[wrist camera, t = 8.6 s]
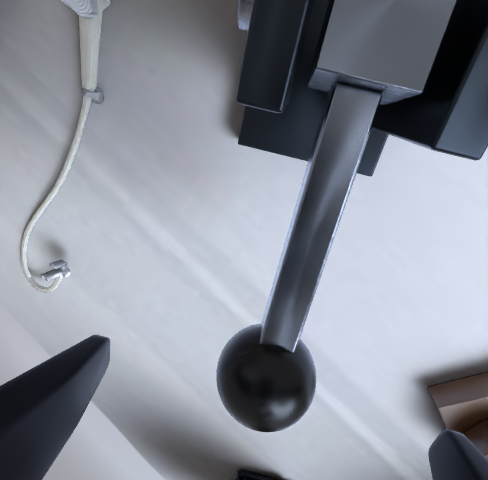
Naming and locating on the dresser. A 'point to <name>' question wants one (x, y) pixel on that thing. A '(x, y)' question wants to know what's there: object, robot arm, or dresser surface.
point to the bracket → (388, 116)
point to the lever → (327, 193)
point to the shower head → (90, 19)
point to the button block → (465, 408)
